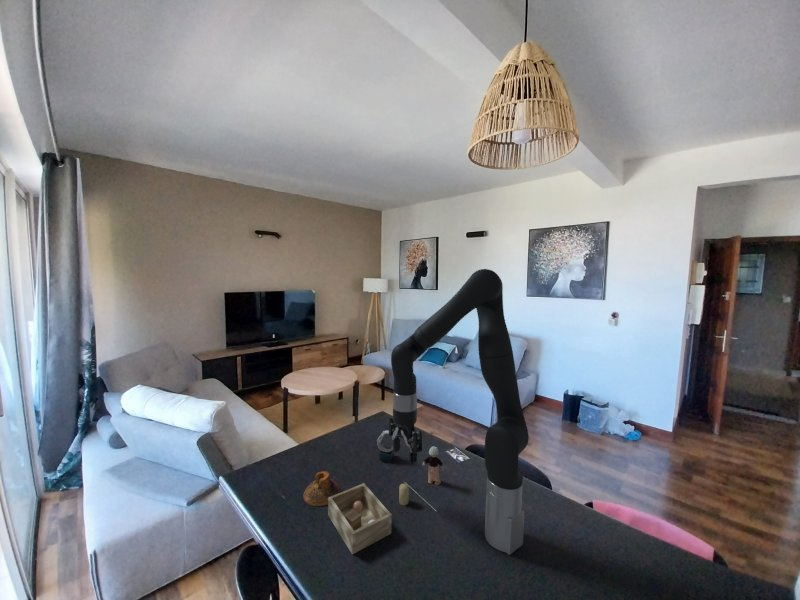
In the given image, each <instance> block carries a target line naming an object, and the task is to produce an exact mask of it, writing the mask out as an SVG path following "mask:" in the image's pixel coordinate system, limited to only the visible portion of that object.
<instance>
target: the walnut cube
mask: <svg viewBox="0 0 800 600" xmlns="http://www.w3.org/2000/svg"><path fill="white" fill-rule="evenodd" d="M344 517H345V518H346V520H347V521H348V523H349V524H350V526H351V527H352V529H353V530H354V531H355V530H357V529H358V528H360V527H361V514H360V513H358V512H357V511H355V510H354V509H352V510H351V511H349V512H348V513H346V514H345V515H344Z"/></svg>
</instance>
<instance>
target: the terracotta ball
mask: <svg viewBox="0 0 800 600" xmlns="http://www.w3.org/2000/svg"><path fill="white" fill-rule="evenodd" d="M362 507H363V505H362V503H361V501H355V502H354V504H353V509H354V510H355V511H357V512H360V511H361V510H362Z"/></svg>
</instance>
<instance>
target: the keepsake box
mask: <svg viewBox="0 0 800 600" xmlns="http://www.w3.org/2000/svg"><path fill="white" fill-rule="evenodd" d="M355 501H361V503H362V505H363V507H362V510H361V511H360V512H358V513H360V514H361V527H360V528H358V529H357V530H355V531H354V530H353V529H352V527H351V526H350V524H349V523H348V521H347V520H346V518H345V517H344V515H345V514H346V513H348V512H349V511H351V510H352V509H353V504H354V502H355ZM327 516H328V517H329V519H330V521H331V523H332V524H333V525H334V527H335V528H336V531H337V532H338V534H339V536H340V537H341V539H342V540H343V542H344V543H345V546H347V548H348V550H349V552H350V553H351V555H354V554H356V553H358V552H360V551H361V550H363V549H365V548H367V547H369V546H371V545H373V544H374V543H377V542H378V541H380V540H382V539H384V538H385V537H387V536H389V535H391V534H392V524H393V523H392V519H393V517H392V516H393V515H392V513H391V512H390V511H389V510H388V509H387V507H386V506H384V504H383V503H382V502H381V501H380V500H379V499H378V497H377V496H376V495H375V493H373V492H372V490H371V489H370V488H369V487H368V486H367V485H366V484H365V482H363V483H361V484H358V485H356V486H353V487H350V488H349V489H346V490H344V491H341V493H338V494H336V495H334V496H331V497H329V498H328V505H327ZM370 520H375V521H373V522H371V523H369V524H368V522H369V521H370Z"/></svg>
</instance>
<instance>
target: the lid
mask: <svg viewBox="0 0 800 600" xmlns="http://www.w3.org/2000/svg"><path fill="white" fill-rule="evenodd" d="M398 489H399V490H398V492H399V494H398V504H400V505H401V506H403V507H405V506H407V505H409V502H410V501H409V495H410V489H411V490H413V491H414V489H413V488H412V486H410V485H409V484H408V483H407V482H405V481H404V482H403V483H401V484H400V485H399V487H398ZM416 494H417V495H418V496H419V497H420V498H421V499H422V500H423V501H424V502H425V503H427V501H426V500H425V499H424V498H423V497H422V496H421V495H419V493H418V492H416ZM429 506H430V507H431V508H432V509H433V510H434V511H435V512H436V513H438V511H437V510H436V509H435V508H434V507H433V506H432V505H431V504H429Z"/></svg>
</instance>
